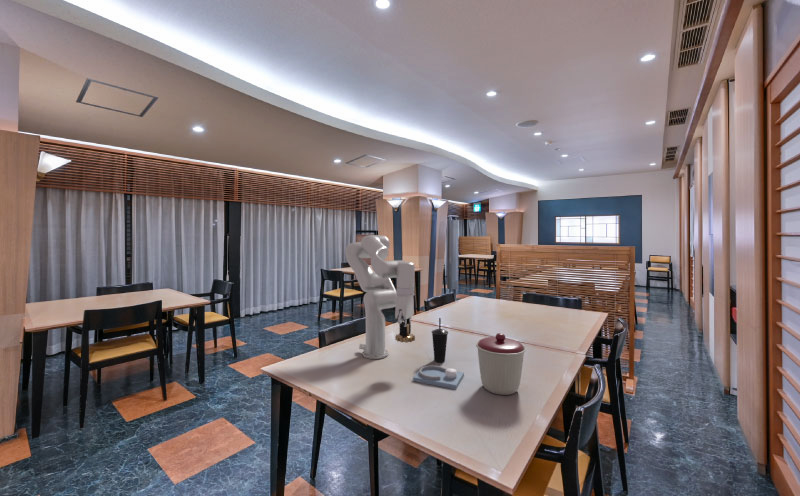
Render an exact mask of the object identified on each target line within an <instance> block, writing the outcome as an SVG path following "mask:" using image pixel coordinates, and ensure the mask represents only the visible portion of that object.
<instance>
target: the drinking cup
mask: <svg viewBox="0 0 800 496" xmlns="http://www.w3.org/2000/svg"><path fill="white" fill-rule="evenodd" d="M438 319H439V320H438V321H439V322H438V328H435V329H433V330H432V331H431V334H432V346H433V347H432V348H433V357H434V358H433V359H434V360H433V361H434V363H439V364H442V363H445V362H446V353H447V342H448V334H449V331H448V330H445V329H443V328H441V325H442V324H441V323H442V322H441V321H442V320H441V319H442V318H441V317H439V318H438Z"/></svg>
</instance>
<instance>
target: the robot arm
mask: <svg viewBox="0 0 800 496" xmlns="http://www.w3.org/2000/svg"><path fill="white" fill-rule="evenodd" d="M390 243H391V242H390V240H389V238H388V237H387V236H386V235H384V234H383V235H382V234H381V235H380V234H370V235H365V236H363V237H362V238H361V240H360V241H358V242H357V241H356V242H355V241H354V242H351V243H349V244H347V245H346V247H345V258H346V261H347V263H348V265H349V267H350V268H351V270H352V271H353V272H354V275H355V277H356V280H357V282H358V285H359V287H360V289H361V290H362V291H363V292H364V293H365V294H364V295H363V307H364V312H365V314H364V315H365V344H364V343H359V347H358V348H359V350H363V352H362V356H363V358H365V359H370V360H380V359H384V358H387V357H388V356H389V351H388V350H387V349H386V317H385V315H384V314H383V312H382V310H385V309H386V310H387V309H391V308H392V309H393V308H395V311H394V318H395V320H397V323H398V325H399V334H400V336H407V327H406V323H408V324H409V334H412V332H411V329H412V328H411V325H412V317H413V316H414V313H415V312H414V311H415V308H414V307H415V305H414V303H415V302H414V299H415V298H414V296H415V283H416V282H415V280H416V279H415V277H416V276H415V274H416V273H415V271H416V270H415V269H416V267H415V263H414V262H411V261H406V260H401V259H399V260H386V259H387V258H388V256H389V248H390V245H391V244H390ZM364 259H370V265H369V263H367V261H365V260H364ZM370 266H371V267H370ZM393 278H396V287H395V285H394V283H393V282H392V280H391V279H393Z"/></svg>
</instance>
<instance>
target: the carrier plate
mask: <svg viewBox="0 0 800 496" xmlns="http://www.w3.org/2000/svg"><path fill="white" fill-rule="evenodd" d="M464 376H465V372H463V371H457V370H456V369H455V368H449V367H448V368H445V367H444V366H440V365H423V366H422V367H421V368H419V370H418V371H417V373H416V374H415V375H414V376H412V381H413V382H417V383H421V384H427V385H433V386H438V387H442V388H449V389H455V390H457V389H458V387H459V386H460V384H461V382H462V380H463V379H464Z"/></svg>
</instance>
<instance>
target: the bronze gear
mask: <svg viewBox="0 0 800 496" xmlns="http://www.w3.org/2000/svg"><path fill="white" fill-rule="evenodd" d="M406 327H407V336H400V333H398V334H395V338H394V339H395V341H396V342H400V343H412V342H414V341H416V336H415V335H414V334H412V333H410V334H409V324H408V323H406Z"/></svg>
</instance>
